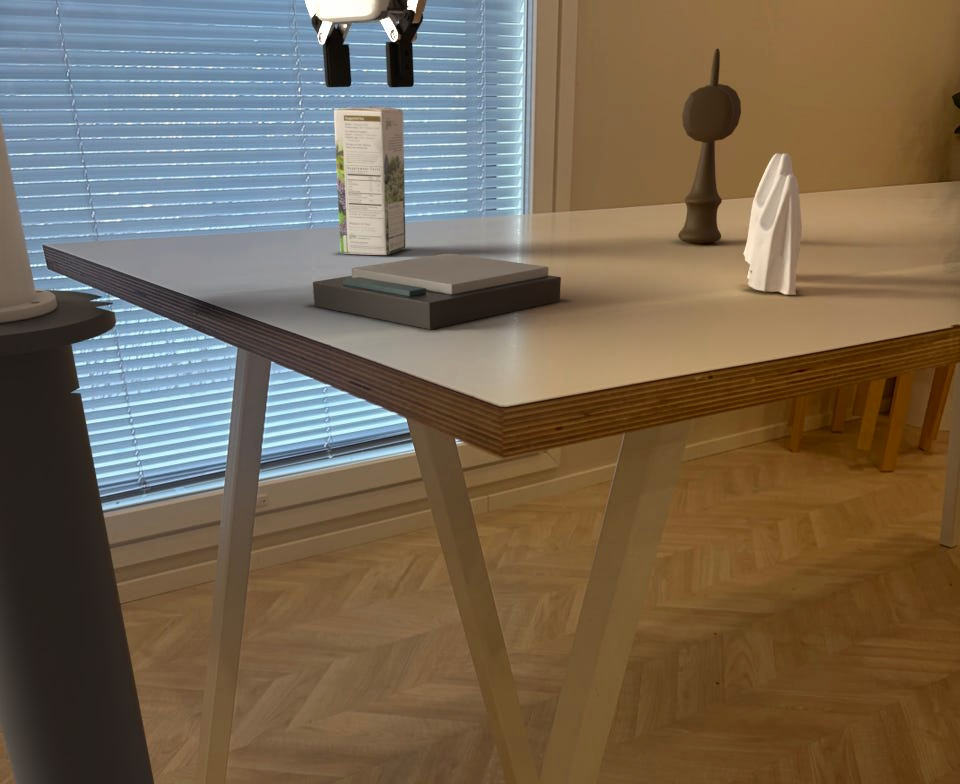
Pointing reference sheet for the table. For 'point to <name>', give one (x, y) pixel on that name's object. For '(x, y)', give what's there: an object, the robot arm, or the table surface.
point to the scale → (438, 290)
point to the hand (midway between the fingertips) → (369, 87)
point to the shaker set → (775, 229)
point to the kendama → (707, 152)
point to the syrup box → (370, 179)
